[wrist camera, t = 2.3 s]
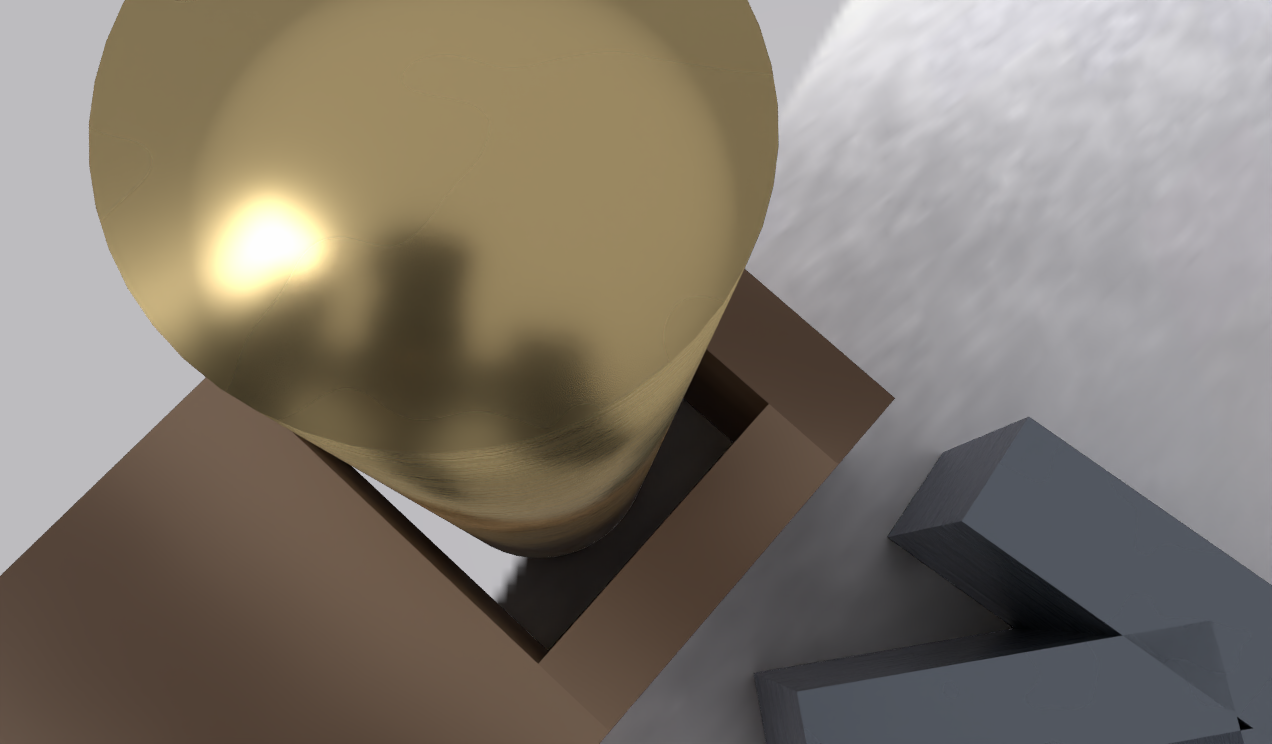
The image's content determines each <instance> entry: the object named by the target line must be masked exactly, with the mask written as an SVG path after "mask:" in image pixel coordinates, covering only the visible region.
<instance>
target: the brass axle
mask: <svg viewBox="0 0 1272 744" xmlns="http://www.w3.org/2000/svg"><path fill="white" fill-rule="evenodd" d="M777 153H778V104H777V97H776V91H775V85H774V79H773V72H772V66H771V62H770V59H769V56H768V53H767V49H766V46H765V43H764V39H763V36H762V33H761V29H760V27H759V24H758V22H757V20H756V18H755V15H754V14H753V11H752V9H751V7H750V5H749V2H748V0H125V1H124V3H123V5H122V7H121V9H120V12H119V14H118V16H117V18H116V21H115V23H114V25H113V27H112V30H111V32H110V34H109V36H108V39H107V41H106V44H105V48H104V51H103V55H102V58H101V62H100V65H99V69H98V72H97V76H96V79H95V85H94V91H93V98H92V106H91V113H90V120H89V165H90V173H91V179H92V185H93V191H94V198H95V205H96V209H97V212H98V216H99V219H100V222H101V225H102V229H103V232H104V235H105V238H106V241H107V245H108V247H109V250H110V252H111V254H112V256H113V259H114V261H115V263H116V265H117V267H118V269H119V271H120V273H121V275H122V277H123V279H124V281H125V283H126V286H127V287H128V289H129V291H130V292H131V294H132V295H133V297H134V298H135V299H136V301H137V302H138V304H139V305H140V307H141V308H142V310H143V311H144V313H145V314H146V316H147V317H148V319H149V320H150V322H151V323H152V325H153V326H154V327H155V328H156V329H157V330H158V331H159V332H160V334H161V335H163V337H164V338H165V339H166V340H167V341H168V342H169V343H170V344H171V345H172V347H173V348H174V349H175V350H176V351H177V352H178V353H179V354H180V355H181V356H182V358H184V359H185V360H186V361H187V362H188V363H189V364H191V365H192V366H193V367H194V368H196V369H197V370H198V371H199V372H201V373H202V374H203V375H204V376H205V377H206V378H208V379H209V380H210V381H211V382H213V383H214V384H215V385H216V386H217V387H219V388H220V389H222V390H223V391H225V392H227V393H228V394H230V395H232V396H233V397H235V398H236V399H238V400H240V401H241V402H243V403H245V404H246V405H248V406H250V407H251V408H253V409H254V410H256V411H258V412H259V413H261V414H263V415H265V416H266V417H268V418H270V419H272V420H273V421H275V422H277V423H278V424H280V425H282V426H284V427H285V428H287V429H289V430H291V431H292V432H294V433H296V434H297V435H299V436H301V437H303V438H304V439H306V440H308V441H310V442H311V443H313V444H315V445H317V446H318V447H320V448H322V449H323V450H325V451H327V452H329V453H330V454H332V455H334V456H336V457H337V458H339V459H341V460H342V461H344V462H346V463H348V464H349V465H351V466H353V467H355V468H356V469H358V470H360V471H361V472H363V473H365V474H367V475H369V476H370V477H372V478H374V479H375V480H377V481H379V482H381V483H382V484H384V485H386V486H387V487H389V488H391V489H393V490H394V491H396V492H398V493H400V494H401V495H403V496H405V497H407V498H408V499H410V500H412V501H413V502H415V503H417V504H419V505H420V506H422V507H424V508H426V509H427V510H429V511H431V512H432V513H434V514H436V515H438V516H439V517H441V518H443V519H445V520H447V521H448V522H450V523H452V524H453V525H455V526H457V527H459V528H460V529H462V530H464V531H465V532H467V533H469V534H470V535H472V536H474V537H476V538H477V539H479V540H481V541H483V542H484V543H486V544H488V545H490V546H491V547H494V548H496V549H498V550H501V551H503V552H506V553H509V554H513V555H516V556H522V557H529V558H549V557H558V556H562V555H566V554H570V553H574V552H576V551H579V550H581V549H584V548H586V547H588V546H590V545H591V544H593V543H595V542H597V541H598V540H600V539H601V538H602V537H604V536H605V535H606V534H608V533H609V532H610V531H611V530H612V529H613V528H614V527H615V526H616V525H617V524H618V523H619V522H620V521H621V520H622V519H623V517H624V516H625V515H626V513H627V512H628V511H629V509H630V507H631V506H632V504H633V502H634V501H635V499H636V497H637V495H638V492H639V490H640V488H641V486H642V484H643V482H644V480H645V478H646V476H647V473H648V471H649V469H650V467H651V465H652V463H653V461H654V459H655V457H656V454H657V452H658V450H659V448H660V446H661V444H662V442H663V440H664V438H665V435H666V433H667V431H668V429H669V427H670V425H671V423H672V421H673V419H674V416H675V414H676V412H677V410H678V408H679V406H680V404H681V402H682V400H683V397H684V395H685V393H686V391H687V389H688V387H689V385H690V383H691V381H692V378H693V376H694V374H695V372H696V370H697V368H698V366H699V364H700V362H701V359H702V357H703V355H704V353H705V351H706V349H707V347H708V345H709V343H710V340H711V338H712V336H713V334H714V332H715V330H716V328H717V326H718V324H719V321H720V319H721V317H722V315H723V313H724V311H725V309H726V307H727V305H728V302H729V300H730V298H731V296H732V294H733V292H734V290H735V288H736V286H737V283H738V281H739V279H740V277H741V275H742V273H743V271H744V269H745V267H746V264H747V262H748V260H749V257H750V255H751V252H752V250H753V248H754V245H755V243H756V241H757V238H758V236H759V234H760V231H761V229H762V227H763V223H764V219H765V215H766V212H767V208H768V204H769V201H770V197H771V193H772V189H773V185H774V177H775V169H776V161H777Z"/></svg>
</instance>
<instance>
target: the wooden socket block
mask: <svg viewBox="0 0 1272 744" xmlns="http://www.w3.org/2000/svg"><path fill="white" fill-rule="evenodd" d="M683 398H684V399H685V400H686V401H687V402H688V403H689V404H691V405H692V406H693V407H694V408H695V409H696V410H697V411H698V412H700V413H701V414H702V415H703V416H704V417H705V418H706V419H707V420H709V421H710V422H711V423H712V424H713V425H714V426H715V427H716V428H718V429H719V430H720V431H721V432H722V433H723V434H724V435H726V436H727V437H728V438H729V439H730V440H731V441H732V442H733V443H732V445H731V446H730V447H729V448H728V449H727V450H726V451H725V452H724V454H723V455H722V456H721V457H720V458H719V459H718V460H717V461H716V463H715V464H714V465H713V466H712V467H711V468H710V469H709V470H708V472H707V473H706V474H705V475H704V476H703V477H702V478H701V479H700V481H699V482H698V483H697V484H696V485H695V486H694V487H693V489H692V490H691V491H690V492H689V493H688V494H687V495H686V496H685V498H684V499H683V500H682V501H681V502H680V503H679V504H678V505H677V507H676V508H675V509H674V510H673V511H672V512H671V513H670V514H669V516H668V517H667V518H666V519H665V520H664V521H663V522H662V523H661V525H660V526H659V527H658V528H657V529H656V530H655V531H654V532H653V534H652V535H651V536H650V537H649V538H648V539H647V540H646V541H645V543H644V544H643V545H642V546H641V547H640V548H639V549H638V550H637V552H636V553H635V554H634V555H633V556H632V557H631V558H630V560H629V561H628V562H627V563H626V564H625V565H624V566H623V567H622V569H621V570H620V571H619V572H618V573H617V574H616V575H615V576H614V578H613V579H612V580H611V581H610V582H609V583H608V584H607V585H606V587H605V588H604V589H603V590H602V591H601V592H600V593H599V594H598V596H597V597H596V598H595V599H594V600H593V601H592V602H591V603H590V605H589V606H588V607H587V608H586V609H585V610H584V611H583V612H582V614H581V615H580V616H579V617H578V618H577V619H576V620H575V621H574V623H573V624H572V625H571V626H570V627H569V628H568V629H567V631H566V632H565V633H564V634H563V635H562V636H561V637H560V638H559V640H558V641H557V642H556V643H555V644H554V645H553V646H552V647H551V649H550V650H549V651H548V650H547V649H545V648H544V647H543V646H542V645H541V644H540V643H539V642H538V641H537V640H536V639H535V638H534V637H533V636H532V635H531V634H530V633H528V632H527V631H526V630H525V629H524V628H523V627H522V626H521V625H520V624H519V623H518V622H517V621H516V620H515V619H514V618H513V617H511V616H510V615H509V614H508V613H507V612H506V611H505V610H504V609H503V608H502V607H501V606H500V605H499V604H498V603H497V602H496V601H494V600H493V599H492V598H491V597H490V596H489V595H488V594H487V593H486V592H485V591H484V590H483V589H482V588H481V587H480V586H478V585H477V584H476V583H475V582H474V581H473V580H472V579H471V578H470V577H469V576H468V575H467V574H466V573H465V572H464V571H462V570H461V569H460V568H459V567H458V566H457V565H456V564H455V563H454V562H453V561H452V560H451V559H450V558H449V557H448V556H447V555H445V554H444V553H443V552H442V551H441V550H440V549H439V548H438V547H437V546H436V545H435V544H434V543H433V542H432V541H431V540H430V539H429V538H427V537H426V536H425V535H424V534H423V533H422V532H421V531H420V530H419V529H418V528H417V527H416V526H415V525H413V523H411V522H410V521H409V520H408V519H407V518H406V517H405V516H404V515H403V514H402V513H401V512H400V511H399V510H398V509H397V508H396V507H395V506H393V505H392V504H391V503H390V502H389V501H388V500H387V499H386V498H385V497H384V496H383V495H382V494H381V493H380V492H379V491H378V490H376V489H375V488H374V487H373V486H372V485H371V484H370V483H369V482H368V481H367V480H366V479H365V478H364V477H363V476H361V475H360V474H359V473H358V472H357V471H356V470H355V469H354V468H353V467H352V466H351V465H349V464H348V463H346V462H344V461H342V460H341V459H339V458H337V457H336V456H334V455H332V454H330V453H329V452H327V451H325V450H323V449H322V448H320V447H318V446H317V445H315V444H313V443H311V442H310V441H308V440H306V439H304V438H303V437H301V436H299V435H297V434H296V433H294V432H292V431H291V430H289V429H287V428H285V427H284V426H282V425H280V424H278V423H277V422H275V421H273V420H272V419H270V418H268V417H266V416H265V415H263V414H261V413H259V412H258V411H256V410H254V409H253V408H251V407H250V406H248V405H246V404H245V403H243V402H241V401H240V400H238V399H236V398H235V397H233V396H232V395H230V394H228V393H227V392H225V391H223V390H222V389H220V388H219V387H217V386H216V385H215V384H214V383H213V382H211V381H210V380H209V379H208V378H205V379H204V380H203V381H202V382H201V383H200V384H199V385H198V386H197V387H196V388H195V389H193V390H192V392H190V393H189V394H188V395H187V396H186V397H185V398H184V399H183V400H182V401H181V402H180V403H179V404H178V405H177V406H176V407H175V408H174V409H173V410H172V411H171V412H170V413H169V414H168V415H167V416H165V417H164V418H163V419H162V421H160V422H159V423H158V424H157V425H156V426H155V427H154V428H153V429H152V430H151V431H150V432H149V433H148V434H147V435H146V436H145V437H144V438H143V439H142V440H141V441H140V442H139V443H137V444H136V445H135V446H134V447H133V448H132V449H131V450H130V451H129V452H128V453H127V454H126V455H125V456H124V457H123V458H122V459H121V460H120V461H119V462H118V463H117V464H116V465H115V466H114V467H113V468H112V469H111V470H109V471H108V472H107V473H106V474H105V475H104V476H103V477H102V478H101V479H100V480H99V481H98V482H97V483H96V484H95V485H94V486H93V487H92V488H91V489H90V490H89V491H88V492H87V493H86V494H85V495H84V496H83V497H82V498H80V499H79V500H78V501H77V502H76V503H75V504H74V505H73V506H72V507H71V508H70V509H69V510H68V511H67V512H66V513H65V514H64V515H63V516H62V517H61V518H60V519H59V520H58V521H57V522H56V523H55V524H54V525H52V526H51V528H49V530H47V531H46V532H45V533H44V534H43V535H42V536H41V537H40V538H39V539H38V540H37V541H36V542H35V543H34V544H33V545H32V546H31V547H30V548H29V549H28V550H27V551H26V552H25V553H23V554H22V555H21V556H20V558H18V559H17V560H16V561H15V562H14V563H13V564H12V565H11V566H10V567H9V568H8V569H7V570H6V571H5V572H4V573H3V574H2V575H1V576H0V744H599V743H600V742H601V741H602V740H603V739H604V738H605V736H606V735H607V734H608V733H609V732H610V731H611V729H612V728H613V727H614V726H615V725H616V724H617V722H618V721H619V720H620V719H621V718H622V717H623V715H624V714H625V713H626V712H627V711H628V709H629V708H630V707H631V706H632V705H633V704H634V702H635V701H636V700H637V699H638V698H639V697H640V695H641V694H642V693H643V692H644V691H645V690H646V688H647V687H648V686H649V685H650V684H651V683H652V681H653V680H654V679H655V678H656V677H657V676H658V674H659V673H660V672H661V671H662V670H663V669H664V667H665V666H666V665H667V664H668V663H669V662H670V660H671V659H672V658H673V657H674V656H675V655H676V653H677V652H678V651H679V650H680V649H681V648H682V646H683V645H684V644H685V643H686V642H687V641H688V639H689V638H690V637H691V636H692V635H693V634H694V632H695V631H696V630H697V629H698V628H699V627H700V625H701V624H702V623H703V622H704V621H705V620H706V618H707V617H708V616H709V615H710V614H711V613H712V611H713V610H714V609H715V608H716V607H717V606H718V604H719V603H720V602H721V601H722V600H723V599H724V597H725V596H726V595H727V594H728V593H729V592H730V590H731V589H732V588H733V587H734V586H735V585H736V583H737V582H738V581H739V580H740V579H741V578H742V576H743V575H744V574H745V573H746V572H747V571H748V569H749V568H750V567H751V566H752V565H753V564H754V562H755V561H756V560H757V559H758V558H759V557H760V555H761V554H762V553H763V552H764V551H765V550H766V548H767V547H768V546H769V545H770V544H771V542H772V541H773V540H774V539H775V538H776V537H777V535H778V534H779V533H780V532H781V531H782V530H783V528H784V527H785V526H786V525H787V524H788V523H789V521H790V520H791V519H792V518H793V517H794V516H795V514H796V513H797V512H798V511H799V510H800V509H801V507H802V506H803V505H804V504H805V503H806V502H807V500H808V499H809V498H810V497H811V496H812V495H813V493H814V492H815V491H816V490H817V489H818V488H819V486H820V485H821V484H822V483H823V482H824V481H825V479H826V478H827V477H828V476H829V475H830V474H831V472H832V471H833V470H834V469H835V468H836V467H837V465H838V464H839V463H840V462H841V461H842V460H843V458H844V457H845V456H846V455H847V454H848V453H849V451H850V450H851V449H852V448H853V447H854V446H855V444H856V443H857V442H858V441H859V440H860V439H861V437H862V436H863V435H864V434H865V433H866V432H867V430H868V429H869V428H870V427H871V426H872V425H873V423H874V422H875V421H876V420H877V419H878V418H879V416H880V415H881V414H882V413H883V412H884V411H885V409H886V408H887V407H888V406H889V405H890V404H891V402H892V401H893V400H894V399H895V398H894V397H893V396H892V395H891V394H890V393H888V392H887V391H886V390H885V389H884V388H883V387H881V386H880V385H879V384H878V383H877V382H876V381H874V380H873V379H872V378H871V377H870V376H869V375H867V374H866V373H865V372H864V371H863V370H862V369H860V368H859V367H858V366H857V365H856V364H855V363H853V362H852V361H851V360H850V359H849V358H848V357H847V356H845V355H844V354H843V353H842V352H841V351H840V350H838V349H837V348H836V347H835V346H834V345H833V344H831V343H830V342H829V341H828V340H827V339H826V338H824V337H823V336H822V335H821V334H820V333H819V332H817V331H816V330H815V329H814V328H813V327H812V326H810V325H809V324H808V323H807V322H806V321H805V320H804V319H802V318H801V317H800V316H799V315H798V314H797V313H795V312H794V311H793V310H792V309H791V308H790V307H788V306H787V305H786V304H785V303H784V302H783V301H781V300H780V299H779V298H778V297H777V296H776V295H774V294H773V293H772V292H771V291H770V290H769V289H767V288H766V287H765V286H764V285H763V284H762V283H761V282H759V281H758V280H757V279H756V278H755V277H754V276H752V275H751V274H750V273H749V272H748V271H747V270H745V269H744V271H743V273H742V275H741V277H740V279H739V281H738V283H737V286H736V288H735V290H734V292H733V294H732V296H731V298H730V300H729V302H728V305H727V307H726V309H725V311H724V313H723V315H722V317H721V319H720V321H719V324H718V326H717V328H716V330H715V332H714V334H713V336H712V338H711V340H710V343H709V345H708V347H707V349H706V351H705V353H704V355H703V357H702V359H701V362H700V364H699V366H698V368H697V370H696V372H695V374H694V376H693V378H692V381H691V383H690V385H689V387H688V389H687V391H686V393H685V395H684V397H683Z"/></svg>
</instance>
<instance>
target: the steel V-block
mask: <svg viewBox="0 0 1272 744" xmlns="http://www.w3.org/2000/svg"><path fill="white" fill-rule="evenodd" d="M888 538H890V539H891V540H892V541H894V542H895V543H896V544H898V545H899V546H901V547H902V548H903V549H905V550H906V551H908V552H909V553H910V554H912V555H913V556H915V557H916V558H917V559H919V560H920V561H922V562H923V563H924V564H926V565H927V566H929V567H930V568H931V569H933V570H934V571H936V572H937V573H938V574H940V575H941V576H943V577H944V578H945V579H947V580H948V581H949V582H951V583H952V584H954V585H955V586H956V587H958V588H959V589H961V590H962V591H963V592H965V593H966V594H968V595H969V596H970V597H972V598H973V599H975V600H976V601H977V602H979V603H980V604H982V605H983V606H984V607H986V608H987V609H989V610H990V611H991V612H993V613H994V614H995V615H997V616H998V617H1000V618H1001V619H1002V620H1004V621H1005V622H1007V623H1008V624H1009V625H1011V626H1012V627H1014V628H1015V629H1010V630H1004V631H998V632H992V633H986V634H981V635H975V636H969V637H963V638H957V639H951V640H945V641H939V642H934V643H928V644H922V645H916V646H910V647H904V648H898V649H892V650H887V651H881V652H875V653H869V654H863V655H857V656H851V657H845V658H840V659H834V660H828V661H822V662H816V663H810V664H804V665H798V666H793V667H787V668H781V669H775V670H769V671H763V672H757V673H754V677H755V683H756V688H757V694H758V700H759V705H760V711H761V717H762V722H763V728H764V734H765V740H766V744H1272V585H1271V584H1269V583H1268V582H1266V581H1265V580H1263V579H1262V578H1260V577H1259V576H1258V575H1256V574H1255V573H1253V572H1252V571H1250V570H1249V569H1247V568H1246V567H1245V566H1243V565H1242V564H1240V563H1239V562H1237V561H1236V560H1234V559H1233V558H1232V557H1230V556H1229V555H1227V554H1226V553H1224V552H1223V551H1222V550H1220V549H1219V548H1217V547H1216V546H1214V545H1213V544H1211V543H1210V542H1209V541H1207V540H1206V539H1204V538H1203V537H1201V536H1200V535H1198V534H1197V533H1196V532H1194V531H1193V530H1191V529H1190V528H1188V527H1187V526H1186V525H1184V524H1183V523H1181V522H1180V521H1178V520H1177V519H1175V518H1174V517H1173V516H1171V515H1170V514H1168V513H1167V512H1165V511H1164V510H1162V509H1161V508H1160V507H1158V506H1157V505H1155V504H1154V503H1152V502H1151V501H1150V500H1148V499H1147V498H1145V497H1144V496H1142V495H1141V494H1139V493H1138V492H1137V491H1135V490H1134V489H1132V488H1131V487H1129V486H1128V485H1126V484H1125V483H1124V482H1122V481H1121V480H1119V479H1118V478H1116V477H1115V476H1114V475H1112V474H1111V473H1109V472H1108V471H1106V470H1105V469H1103V468H1102V467H1101V466H1099V465H1098V464H1096V463H1095V462H1093V461H1092V460H1090V459H1089V458H1088V457H1086V456H1085V455H1083V454H1082V453H1080V452H1079V451H1078V450H1076V449H1075V448H1073V447H1072V446H1070V445H1069V444H1067V443H1066V442H1065V441H1063V440H1062V439H1060V438H1059V437H1057V436H1056V435H1054V434H1053V433H1052V432H1050V431H1049V430H1047V429H1046V428H1044V427H1043V426H1042V425H1040V424H1039V423H1037V422H1036V421H1034V420H1033V419H1031V418H1030V417H1027V418H1025V419H1022V420H1020V421H1017V422H1015V423H1013V424H1010V425H1008V426H1005V427H1003V428H1001V429H998V430H996V431H993V432H991V433H989V434H986V435H984V436H981V437H979V438H977V439H974V440H972V441H969V442H967V443H965V444H962V445H960V446H958V447H955V448H953V449H950V450H948V451H946V452H943V453H942V455H941V456H940V458H939V459H938V461H937V462H936V464H935V465H934V467H933V468H932V470H931V471H930V473H929V475H928V476H927V478H926V479H925V481H924V482H923V484H922V485H921V487H920V488H919V490H918V491H917V493H916V494H915V496H914V497H913V499H912V500H911V502H910V503H909V505H908V506H907V508H906V509H905V511H904V512H903V514H902V516H901V517H900V519H899V520H898V522H897V523H896V525H895V526H894V528H893V529H892V531H891V532H890V534H889V535H888Z"/></svg>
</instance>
